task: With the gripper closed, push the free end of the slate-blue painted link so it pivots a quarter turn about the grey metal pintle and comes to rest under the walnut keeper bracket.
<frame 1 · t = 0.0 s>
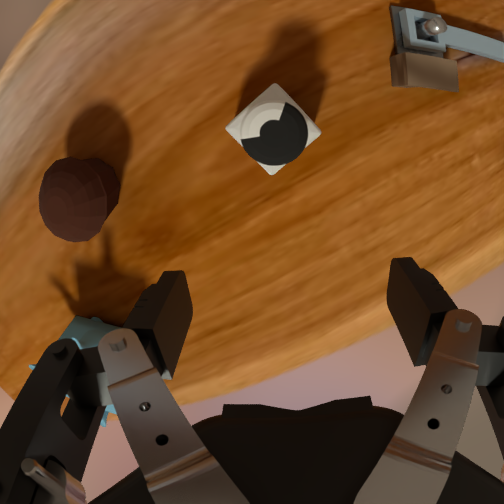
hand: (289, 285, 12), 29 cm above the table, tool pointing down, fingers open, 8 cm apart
medicine bottle: (273, 125, 36), on the table
keeper: (415, 74, 31), on the table
muffin: (95, 186, 41), on the table
pintle block: (416, 33, 29), on the table
teakettle: (111, 339, 55), on the table
link: (463, 40, 26), point 2 cm above the table, hinge at 90.0°
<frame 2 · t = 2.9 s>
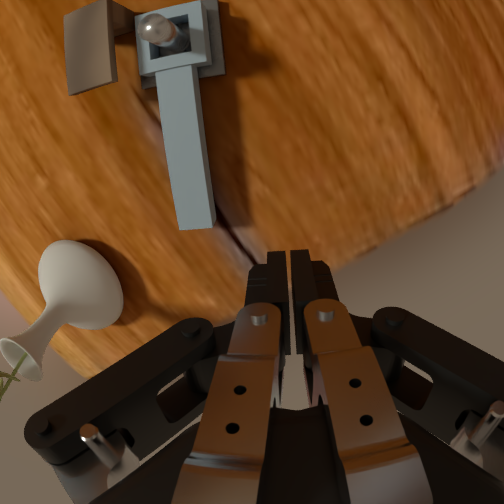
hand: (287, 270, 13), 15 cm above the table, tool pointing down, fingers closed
flower in vase: (82, 280, 33), on the table
keeper: (115, 52, 21), on the table
pintle block: (180, 43, 21), on the table
link: (181, 116, 22), point 2 cm above the table, hinge at 90.0°
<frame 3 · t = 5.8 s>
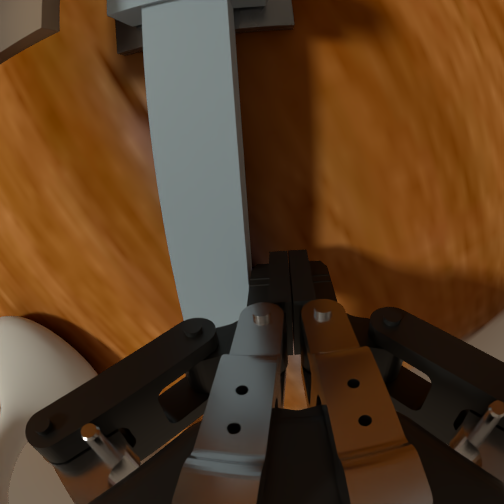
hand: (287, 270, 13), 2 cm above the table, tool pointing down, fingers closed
flower in vase: (50, 362, 20), on the table
link: (196, 106, 10), point 2 cm above the table, hinge at 88.3°, touching gripper
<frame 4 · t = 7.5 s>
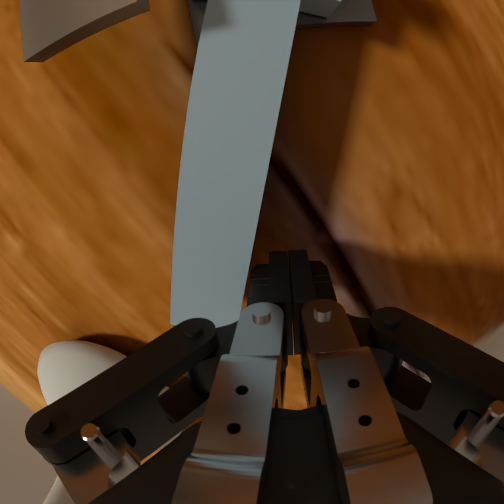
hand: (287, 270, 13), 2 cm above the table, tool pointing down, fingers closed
flower in vase: (109, 384, 20), on the table
link: (237, 97, 9), point 2 cm above the table, hinge at 69.0°, touching gripper
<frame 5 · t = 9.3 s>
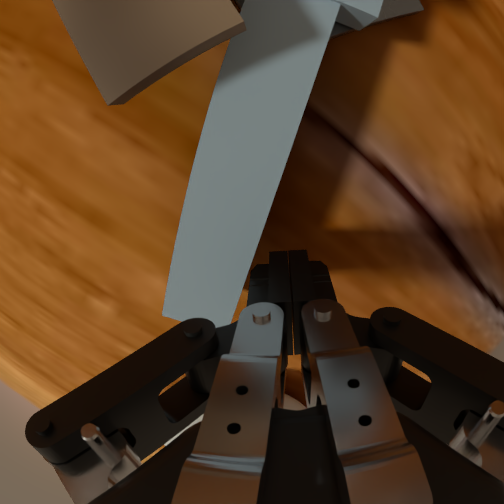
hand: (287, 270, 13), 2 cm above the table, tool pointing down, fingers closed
flower in vase: (231, 417, 21), on the table
keeper: (168, 11, 10), on the table
link: (260, 96, 9), point 2 cm above the table, hinge at 45.1°, touching gripper
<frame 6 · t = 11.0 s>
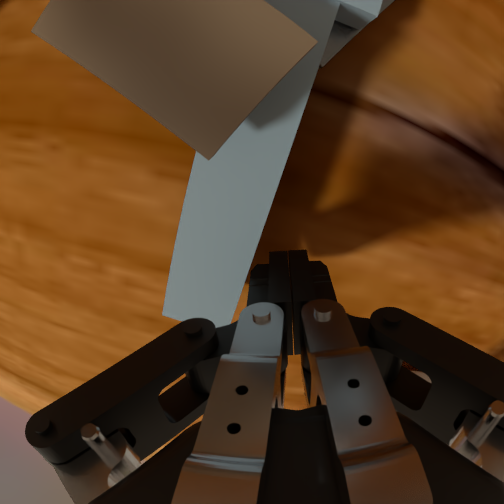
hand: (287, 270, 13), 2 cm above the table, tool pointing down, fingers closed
keeper: (195, 48, 10), on the table
link: (260, 95, 9), point 2 cm above the table, hinge at 23.7°, touching gripper
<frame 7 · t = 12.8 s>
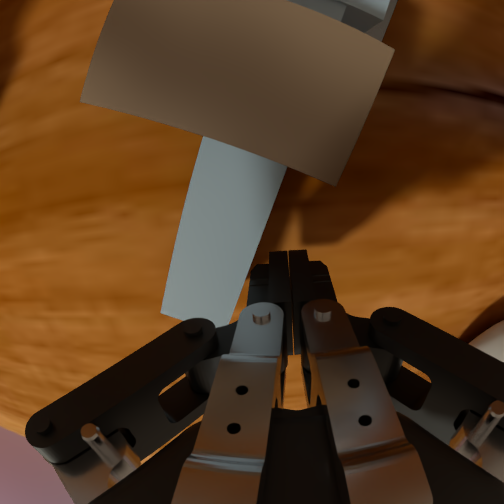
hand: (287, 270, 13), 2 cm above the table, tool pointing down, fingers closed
flower in vase: (478, 367, 18), on the table
keeper: (244, 77, 11), on the table
link: (264, 95, 9), point 2 cm above the table, hinge at 2.4°, touching gripper
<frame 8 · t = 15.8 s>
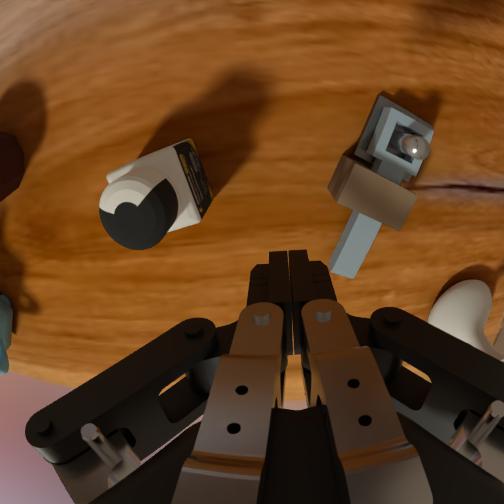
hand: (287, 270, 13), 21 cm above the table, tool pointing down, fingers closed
flower in vase: (454, 310, 39), on the table
medicine bottle: (174, 178, 33), on the table
keeper: (364, 184, 32), on the table
muffin: (6, 162, 32), on the table
pintle block: (393, 138, 29), on the table
link: (376, 198, 30), point 2 cm above the table, hinge at 2.4°
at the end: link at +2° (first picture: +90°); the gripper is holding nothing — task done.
